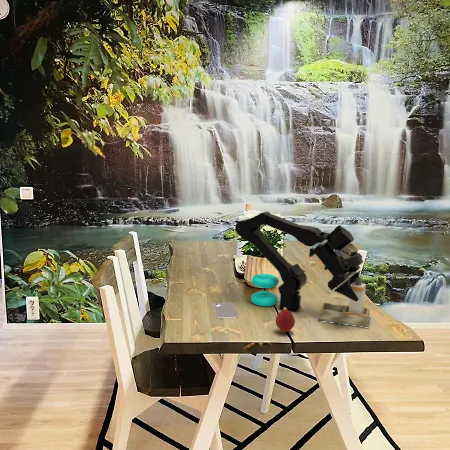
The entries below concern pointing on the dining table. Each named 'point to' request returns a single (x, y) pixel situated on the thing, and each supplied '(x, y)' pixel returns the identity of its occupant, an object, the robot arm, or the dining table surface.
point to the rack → (343, 315)
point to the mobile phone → (225, 310)
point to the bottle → (360, 292)
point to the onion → (285, 320)
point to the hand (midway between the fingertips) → (361, 296)
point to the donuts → (264, 296)
